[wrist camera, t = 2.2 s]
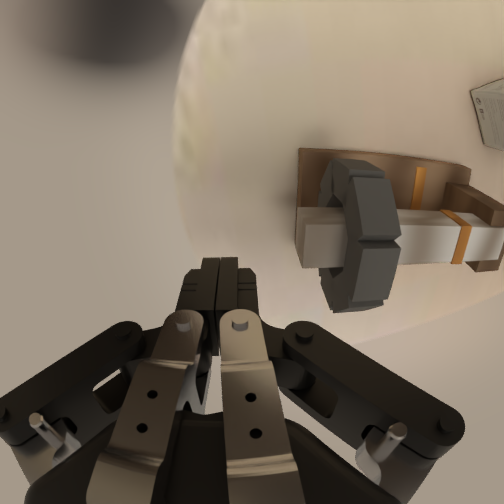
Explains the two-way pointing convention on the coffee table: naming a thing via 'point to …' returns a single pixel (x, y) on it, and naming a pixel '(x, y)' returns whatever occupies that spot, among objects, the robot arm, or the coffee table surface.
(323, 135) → the coffee table surface
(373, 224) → the o ring
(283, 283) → the coffee table surface
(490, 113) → the skincare box
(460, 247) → the pipe stand
